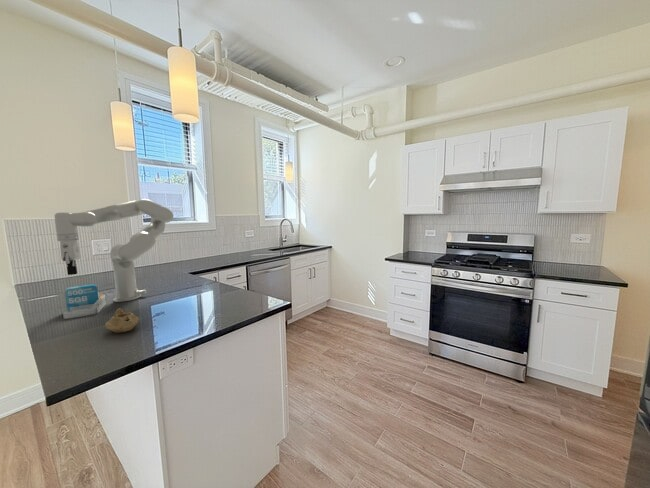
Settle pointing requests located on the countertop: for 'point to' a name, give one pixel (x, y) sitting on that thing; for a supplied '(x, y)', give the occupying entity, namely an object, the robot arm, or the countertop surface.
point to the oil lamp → (122, 321)
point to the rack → (86, 309)
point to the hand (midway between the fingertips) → (72, 274)
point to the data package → (81, 295)
